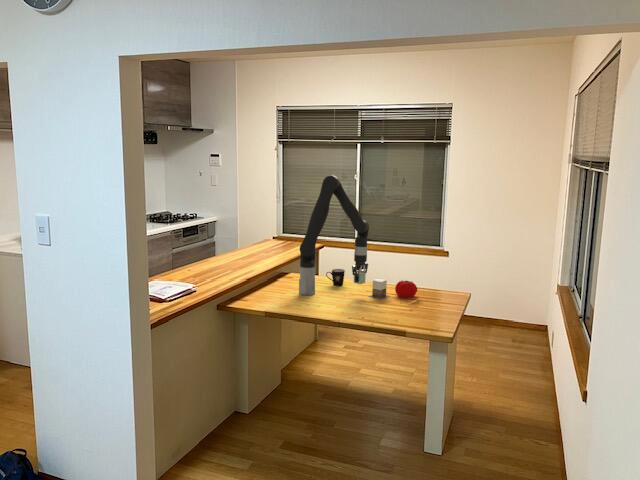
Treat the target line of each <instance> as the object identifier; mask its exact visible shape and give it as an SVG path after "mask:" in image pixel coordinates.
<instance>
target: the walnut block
mask: <svg viewBox="0 0 640 480" xmlns="http://www.w3.org/2000/svg"><path fill="white" fill-rule="evenodd" d="M371 290H372V291H371V292H372V294H371V295H372V297H377V298H383V297H386V295H387V288H386V289H383V290H378V289H373V288H372V289H371Z"/></svg>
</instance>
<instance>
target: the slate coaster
mask: <svg viewBox="0 0 640 480" xmlns="http://www.w3.org/2000/svg"><path fill="white" fill-rule="evenodd" d="M367 298H371V299H376V300H385V299H388V298H391V295H387V294H386V297H383V298H377V297H372V294H371V295H368V296H367Z"/></svg>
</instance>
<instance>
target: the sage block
mask: <svg viewBox="0 0 640 480" xmlns="http://www.w3.org/2000/svg"><path fill="white" fill-rule="evenodd" d="M357 273H358V272H357ZM366 275H367V273H362V272H360V273H359V282H355V275H353V284H358V285H362V284H363V285H364V284H365V283H366Z"/></svg>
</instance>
